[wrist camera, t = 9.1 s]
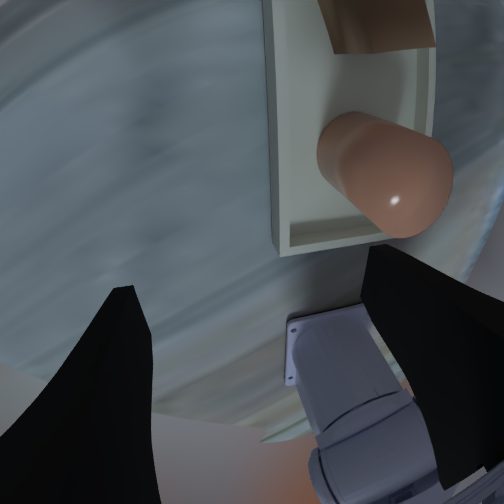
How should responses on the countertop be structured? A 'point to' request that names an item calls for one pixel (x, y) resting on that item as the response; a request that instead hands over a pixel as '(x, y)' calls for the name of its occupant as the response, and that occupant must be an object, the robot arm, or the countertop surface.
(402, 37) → the walnut block
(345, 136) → the brown rounded cylinder
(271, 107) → the tray
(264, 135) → the countertop surface
